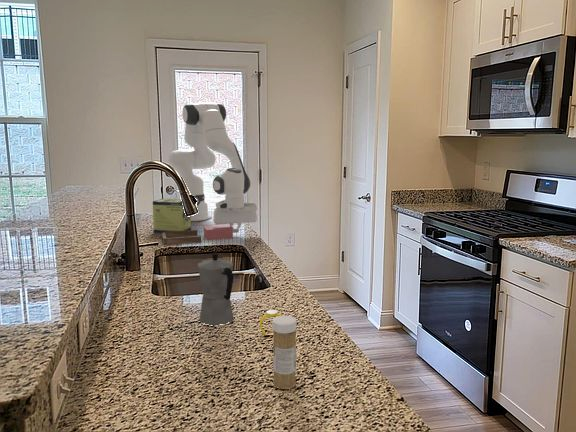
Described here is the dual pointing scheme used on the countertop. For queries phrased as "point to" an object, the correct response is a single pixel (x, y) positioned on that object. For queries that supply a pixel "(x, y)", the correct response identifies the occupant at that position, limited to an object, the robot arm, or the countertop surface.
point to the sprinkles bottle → (284, 351)
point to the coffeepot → (216, 290)
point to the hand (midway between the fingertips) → (235, 232)
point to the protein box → (170, 216)
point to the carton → (218, 232)
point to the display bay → (181, 239)
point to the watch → (271, 314)
